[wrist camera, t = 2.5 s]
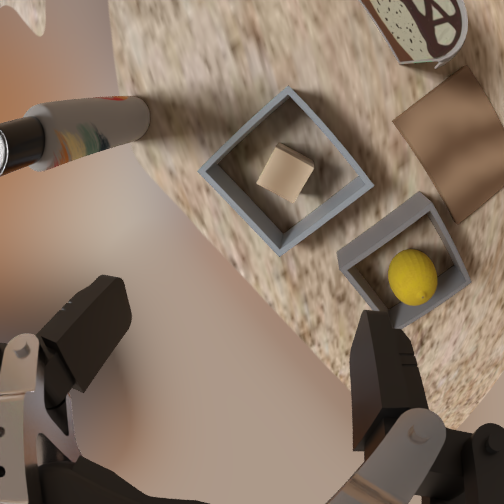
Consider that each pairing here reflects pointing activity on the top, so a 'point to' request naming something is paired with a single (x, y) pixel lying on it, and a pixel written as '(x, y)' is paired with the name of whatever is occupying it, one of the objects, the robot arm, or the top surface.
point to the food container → (420, 28)
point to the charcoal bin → (385, 232)
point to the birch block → (286, 172)
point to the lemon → (412, 277)
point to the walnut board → (457, 142)
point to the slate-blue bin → (252, 212)
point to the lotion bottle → (70, 131)
